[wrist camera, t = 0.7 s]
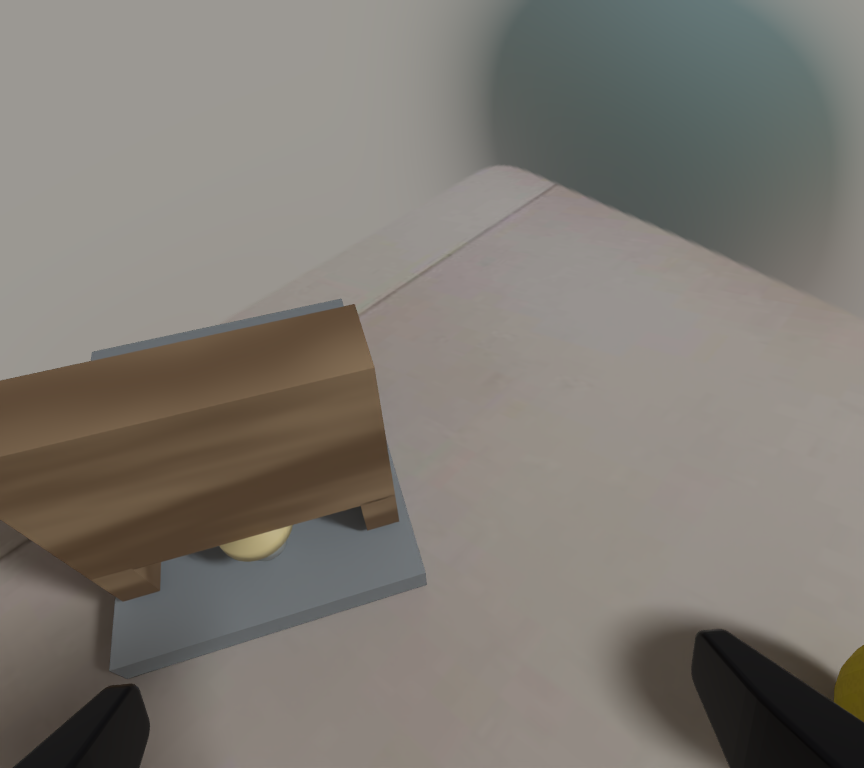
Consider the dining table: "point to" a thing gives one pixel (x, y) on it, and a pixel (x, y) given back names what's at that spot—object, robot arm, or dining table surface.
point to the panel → (194, 446)
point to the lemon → (851, 685)
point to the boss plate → (261, 569)
